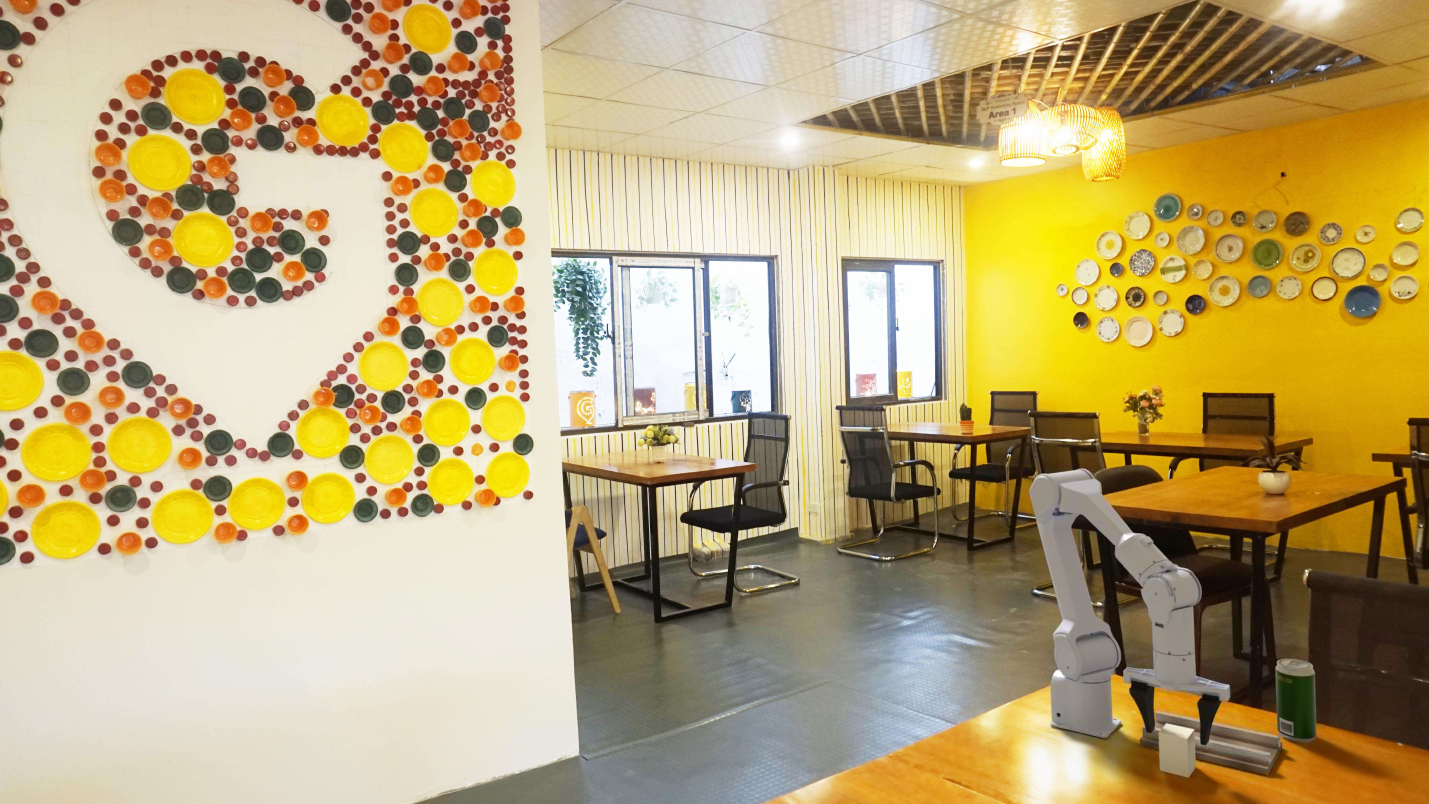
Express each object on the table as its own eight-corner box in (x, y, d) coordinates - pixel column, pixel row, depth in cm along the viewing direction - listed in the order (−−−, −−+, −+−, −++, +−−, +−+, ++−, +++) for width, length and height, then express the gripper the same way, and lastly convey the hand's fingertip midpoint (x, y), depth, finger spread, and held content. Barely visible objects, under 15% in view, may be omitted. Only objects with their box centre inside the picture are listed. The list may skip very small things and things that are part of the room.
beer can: (1307, 746, 141) (1305, 672, 141) (1271, 735, 146) (1268, 663, 145) (1322, 736, 144) (1320, 664, 144) (1286, 726, 149) (1284, 655, 148)
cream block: (1160, 770, 137) (1158, 732, 136) (1167, 760, 140) (1166, 723, 139) (1188, 777, 134) (1187, 738, 134) (1195, 767, 137) (1194, 729, 137)
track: (1139, 745, 145) (1139, 730, 145) (1160, 721, 153) (1159, 707, 153) (1267, 775, 133) (1267, 758, 133) (1282, 748, 141) (1281, 732, 141)
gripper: (1115, 648, 138) (1119, 734, 138) (1220, 665, 128) (1223, 758, 129) (1130, 636, 143) (1133, 718, 144) (1232, 651, 133) (1235, 740, 134)
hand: (1177, 736), depth 137 cm, fingers open, 7 cm apart
